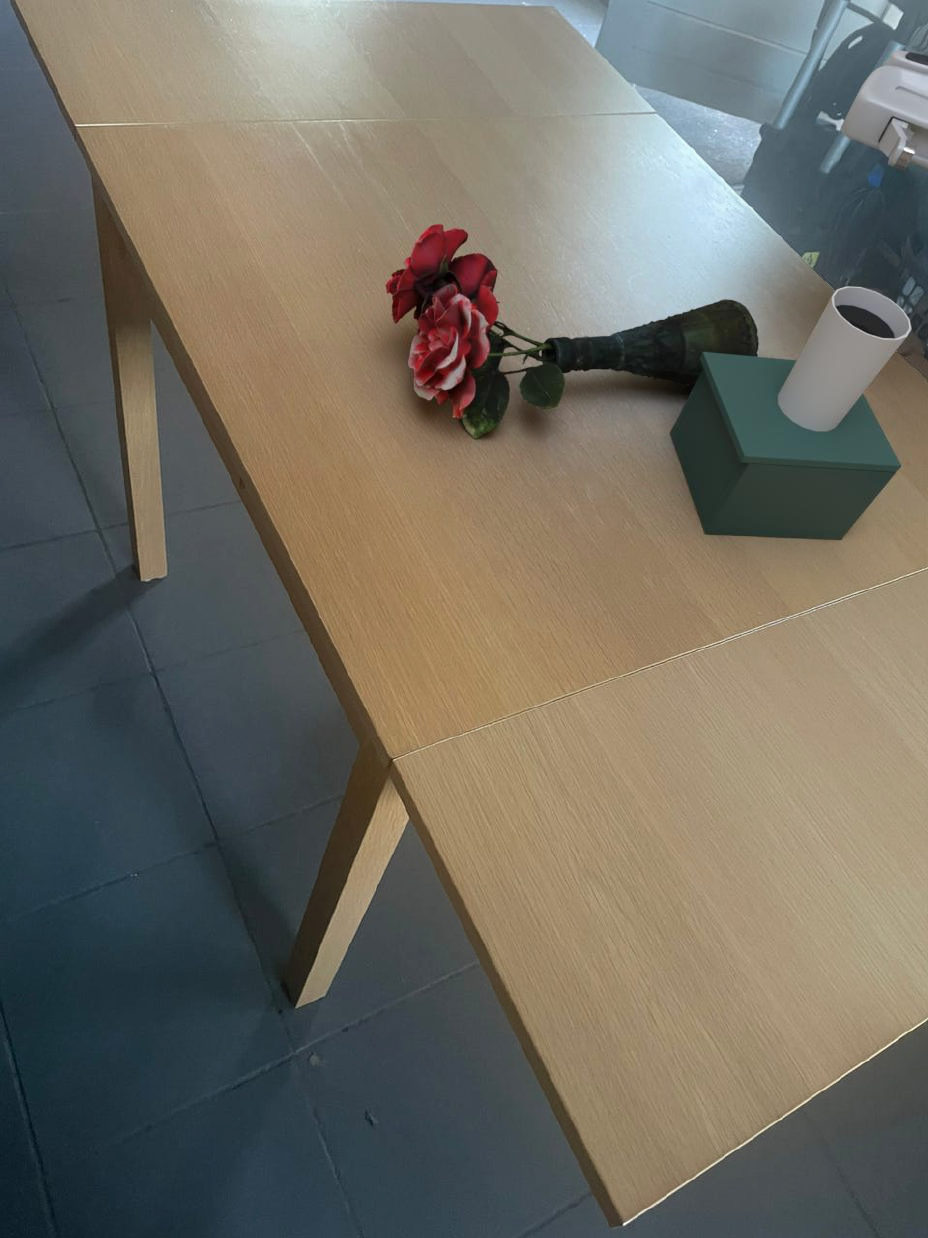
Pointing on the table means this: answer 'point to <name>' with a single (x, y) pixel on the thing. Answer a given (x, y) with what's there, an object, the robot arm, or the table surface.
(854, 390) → the white cup
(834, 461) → the lid
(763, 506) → the chest
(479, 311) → the vase with roses
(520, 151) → the table surface
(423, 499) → the table surface
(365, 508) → the table surface
